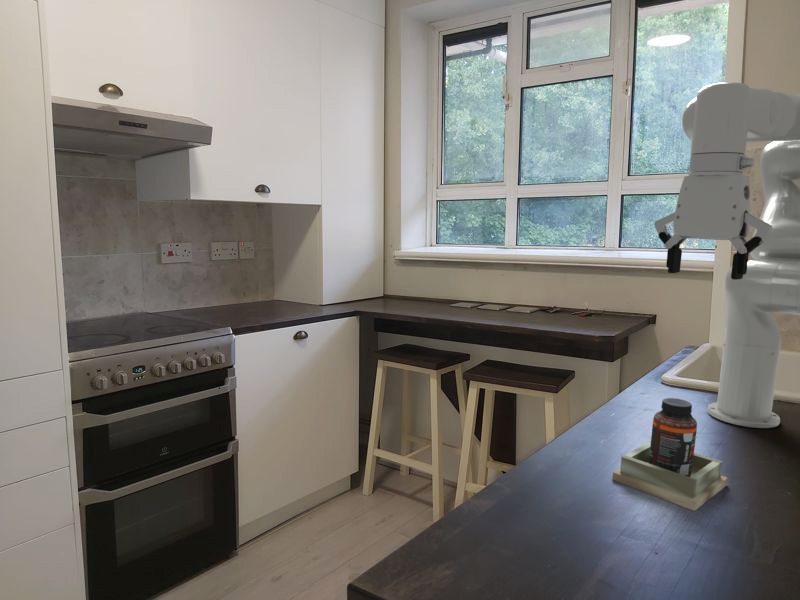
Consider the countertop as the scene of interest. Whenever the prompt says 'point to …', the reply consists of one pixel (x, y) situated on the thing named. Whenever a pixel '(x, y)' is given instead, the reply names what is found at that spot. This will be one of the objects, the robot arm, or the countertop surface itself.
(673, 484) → the socket board
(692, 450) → the supplement bottle
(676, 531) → the countertop surface
